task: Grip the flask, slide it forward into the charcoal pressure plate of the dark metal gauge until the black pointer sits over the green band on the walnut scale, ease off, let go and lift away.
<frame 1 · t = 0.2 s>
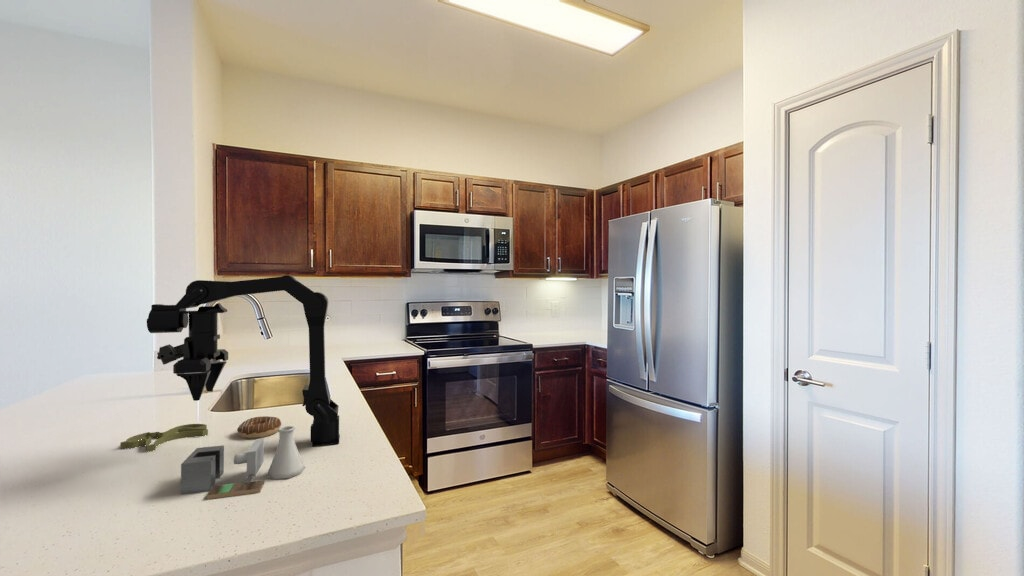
hand: (203, 395, 105), 14 cm above the counter, tool pointing down, fingers open, 9 cm apart
flask: (286, 473, 95), on the counter
gauge plunger: (245, 461, 91), point 4 cm above the counter, slide at 0.0 cm
gauge housing: (239, 478, 92), on the counter
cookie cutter: (167, 441, 115), on the counter
donut: (259, 434, 121), on the counter
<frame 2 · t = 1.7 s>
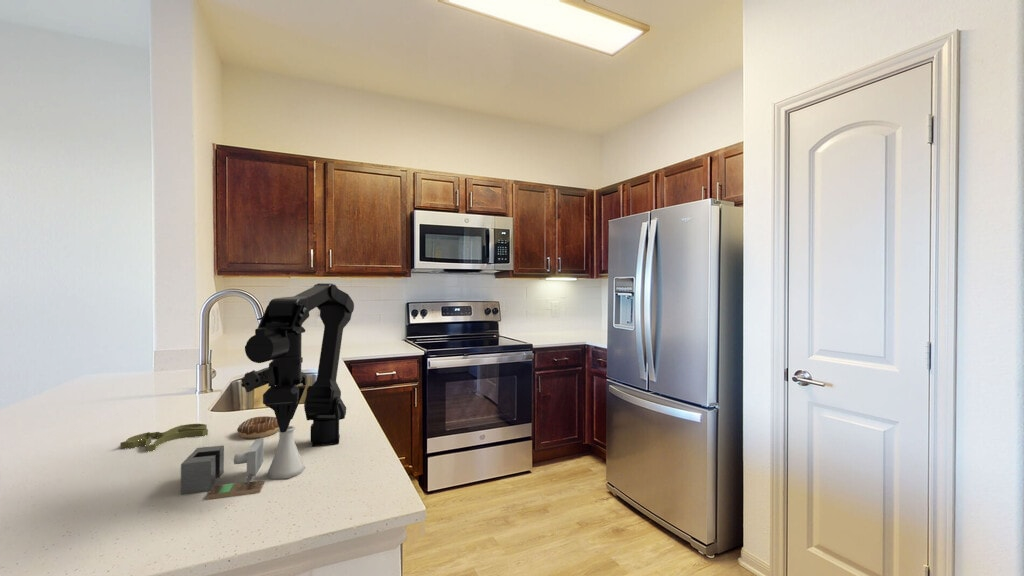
hand: (286, 425, 95), 10 cm above the counter, tool pointing down, fingers open, 9 cm apart
nothing on the counter moved.
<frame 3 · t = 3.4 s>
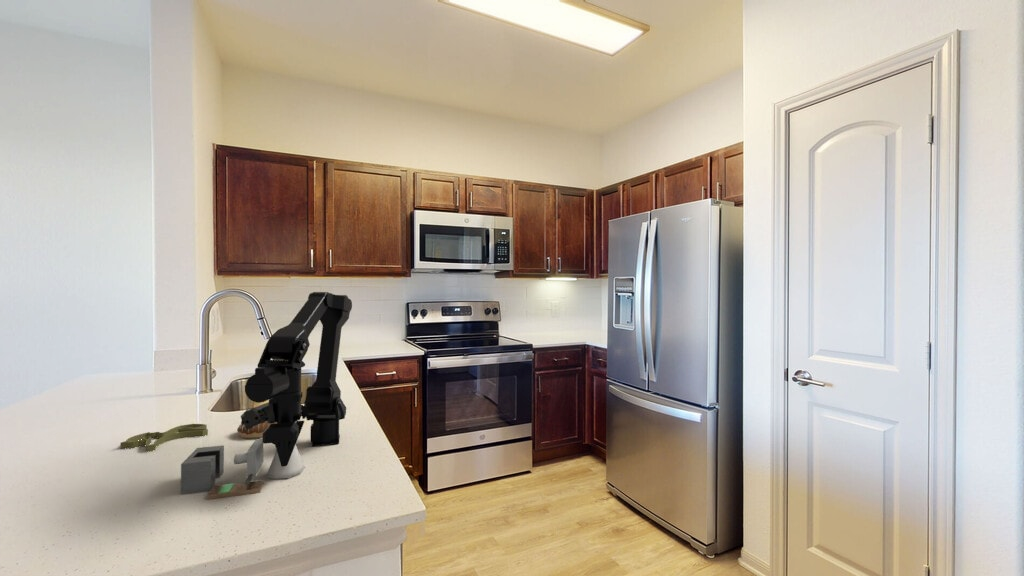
hand: (286, 461, 95), 3 cm above the counter, tool pointing down, fingers closed on flask, 5 cm apart
flask: (286, 473, 95), on the counter, touching gripper
everything else where it was.
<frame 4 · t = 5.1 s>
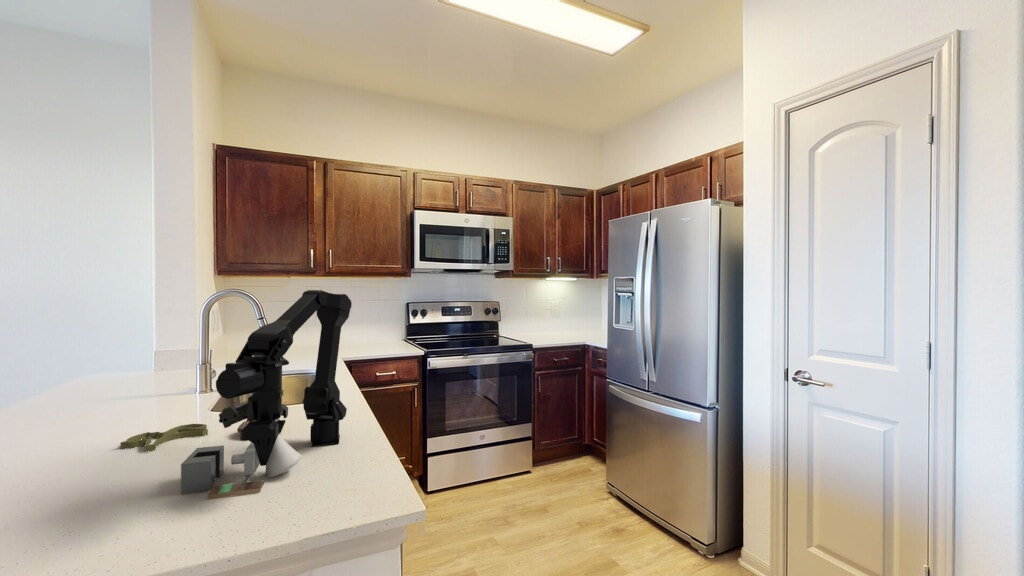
hand: (265, 460, 93), 3 cm above the counter, tool pointing down, fingers closed on flask, 5 cm apart
flask: (285, 468, 95), point 1 cm above the counter, touching gripper
gauge plunger: (242, 461, 91), point 4 cm above the counter, slide at 0.5 cm, touching gripper
everything else where it was.
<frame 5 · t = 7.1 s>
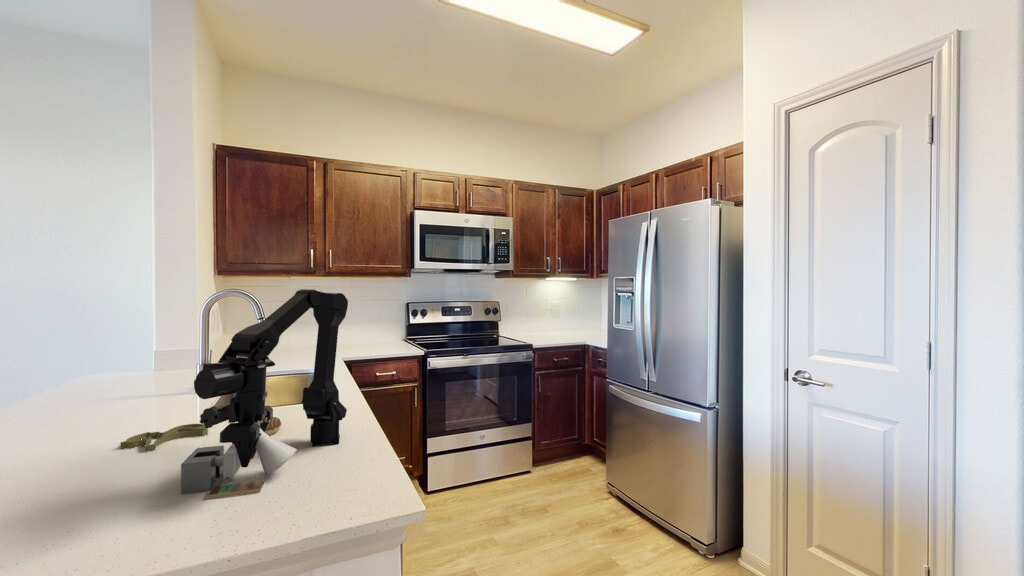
hand: (247, 462, 92), 3 cm above the counter, tool pointing down, fingers closed on flask, 4 cm apart
flask: (282, 463, 95), point 2 cm above the counter, touching gripper
gauge plunger: (222, 464, 90), point 4 cm above the counter, slide at 4.1 cm
everything else where it was.
when the fingers open (3 cm above the counter, at t = 8.2 s): flask stays where it is, point 2 cm above the counter.
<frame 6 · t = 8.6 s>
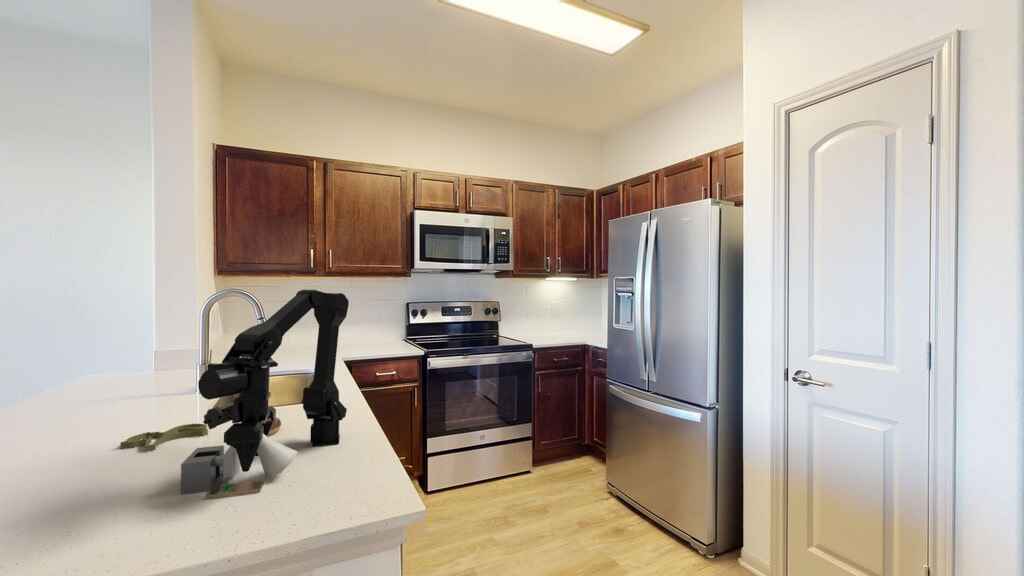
hand: (250, 463, 92), 3 cm above the counter, tool pointing down, fingers open, 9 cm apart
flask: (283, 464, 95), point 2 cm above the counter, touching gripper
everything else where it was.
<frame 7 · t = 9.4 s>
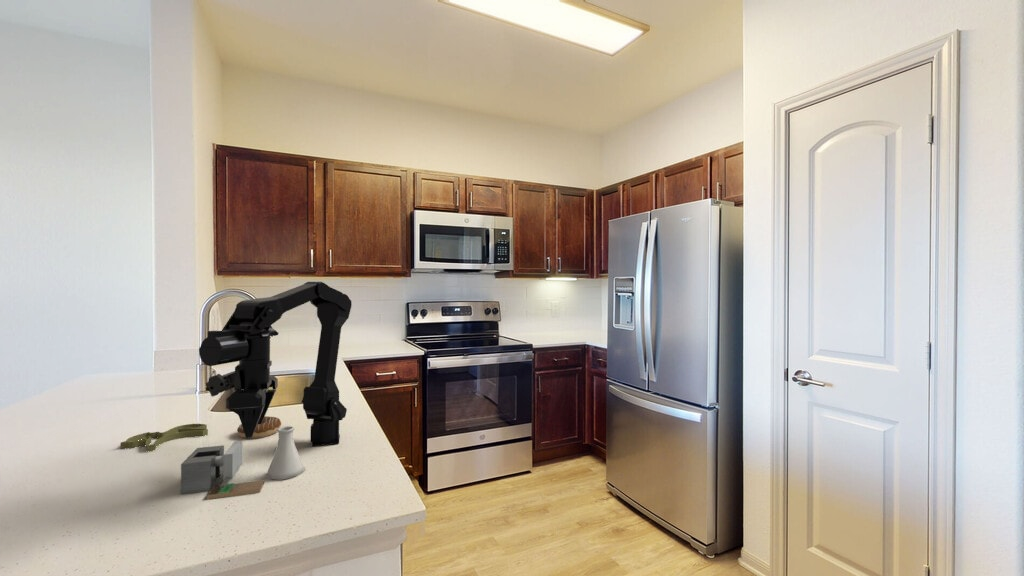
hand: (254, 430, 93), 10 cm above the counter, tool pointing down, fingers open, 9 cm apart
flask: (286, 474, 95), on the counter
everything else where it was.
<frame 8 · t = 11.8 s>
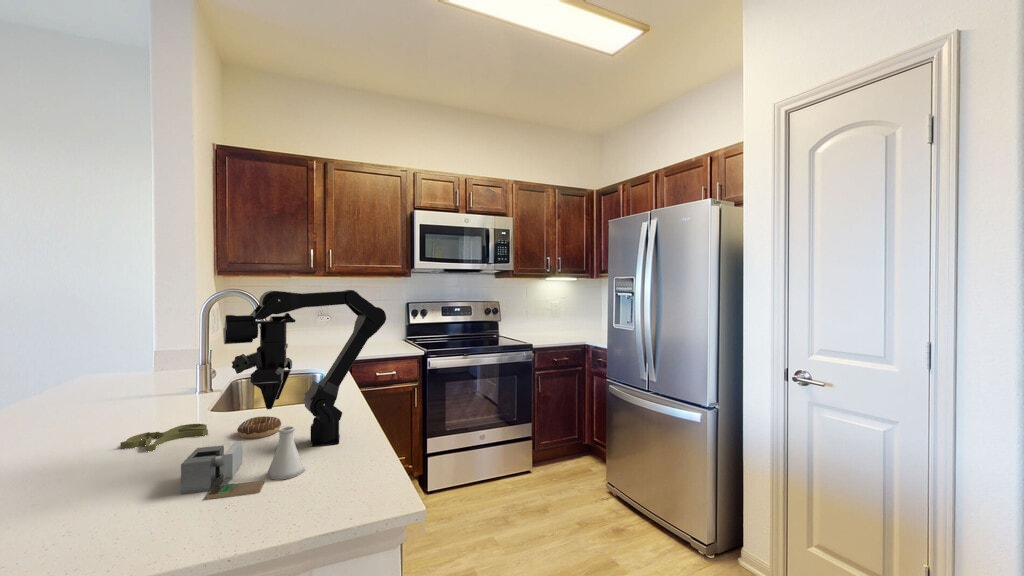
hand: (272, 404, 107), 12 cm above the counter, tool pointing down, fingers open, 9 cm apart
nothing on the counter moved.
at the end: gauge plunger slide at 4.1 cm; flask tilted 0°; the gripper is holding nothing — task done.
